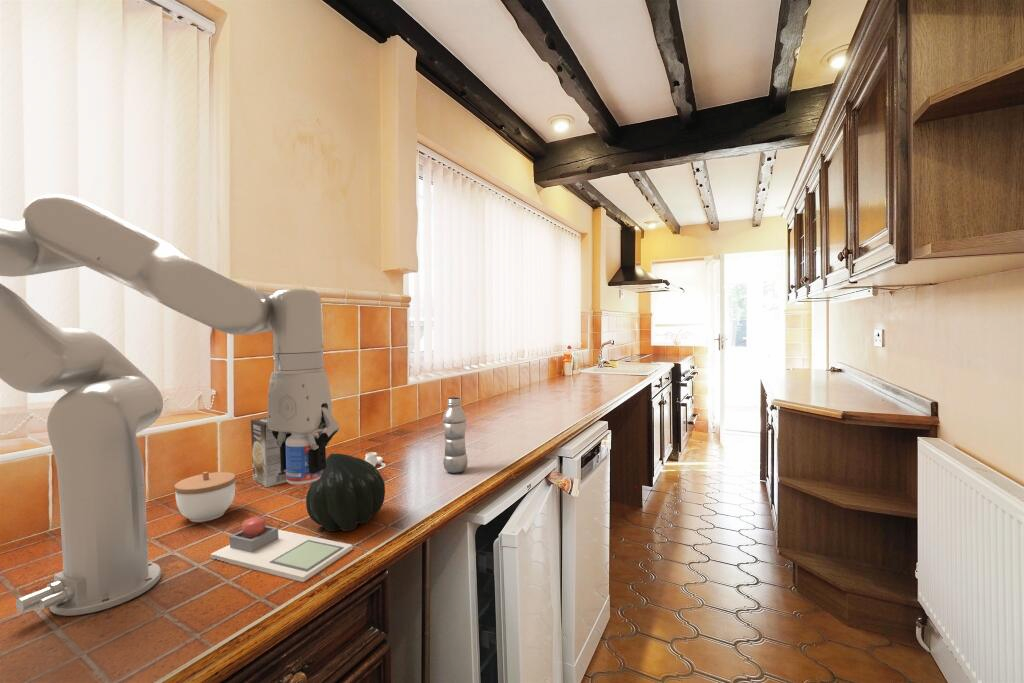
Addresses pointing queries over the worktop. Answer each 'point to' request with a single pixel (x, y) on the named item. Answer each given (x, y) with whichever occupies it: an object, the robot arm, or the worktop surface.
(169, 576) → the worktop surface
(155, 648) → the worktop surface
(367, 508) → the squash
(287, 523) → the worktop surface
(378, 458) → the teacup and saucer
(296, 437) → the pill bottle
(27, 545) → the worktop surface
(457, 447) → the plastic bottle
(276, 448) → the coffee box
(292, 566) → the white flat board
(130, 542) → the robot arm
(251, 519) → the button
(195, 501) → the lidded jar
